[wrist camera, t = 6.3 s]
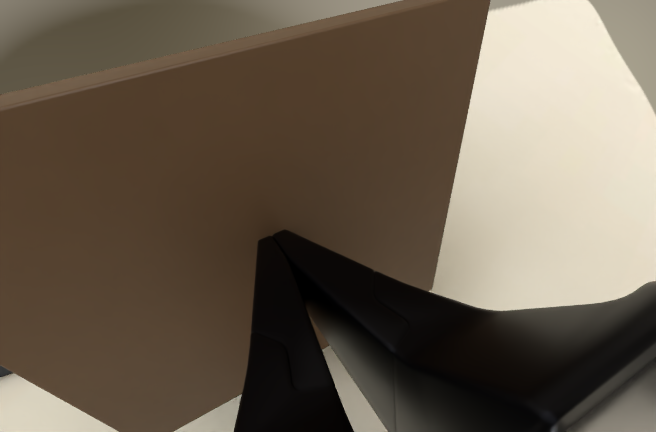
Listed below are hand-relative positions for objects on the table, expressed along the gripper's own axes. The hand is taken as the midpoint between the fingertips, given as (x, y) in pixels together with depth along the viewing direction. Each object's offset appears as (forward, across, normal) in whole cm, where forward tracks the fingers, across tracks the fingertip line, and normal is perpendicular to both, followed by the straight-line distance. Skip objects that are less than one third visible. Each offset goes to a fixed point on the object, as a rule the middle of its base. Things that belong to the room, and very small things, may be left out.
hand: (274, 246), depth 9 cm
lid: (+1, 0, +1) cm, 1 cm away
